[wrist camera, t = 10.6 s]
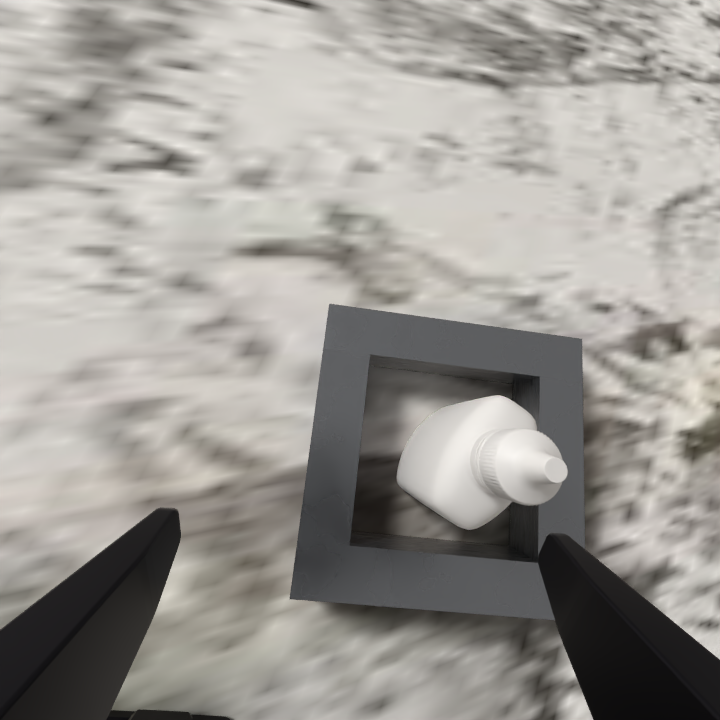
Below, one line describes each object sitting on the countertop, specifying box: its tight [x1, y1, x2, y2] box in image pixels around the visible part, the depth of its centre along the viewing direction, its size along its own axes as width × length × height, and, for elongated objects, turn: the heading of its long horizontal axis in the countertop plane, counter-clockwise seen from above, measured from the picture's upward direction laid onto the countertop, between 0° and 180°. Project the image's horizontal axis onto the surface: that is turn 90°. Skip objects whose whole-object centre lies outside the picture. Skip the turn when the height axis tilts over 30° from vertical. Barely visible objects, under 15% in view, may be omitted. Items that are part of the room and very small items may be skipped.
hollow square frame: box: [290, 304, 585, 620], centre depth 21 cm, size 14×14×3 cm
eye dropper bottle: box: [397, 395, 568, 530], centre depth 17 cm, size 4×6×12 cm
